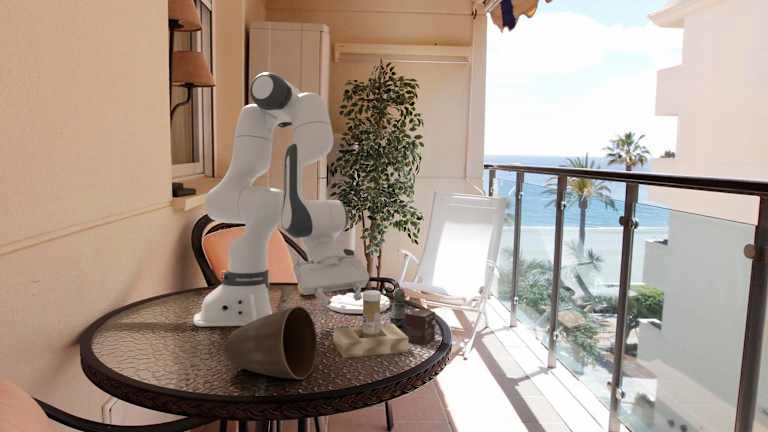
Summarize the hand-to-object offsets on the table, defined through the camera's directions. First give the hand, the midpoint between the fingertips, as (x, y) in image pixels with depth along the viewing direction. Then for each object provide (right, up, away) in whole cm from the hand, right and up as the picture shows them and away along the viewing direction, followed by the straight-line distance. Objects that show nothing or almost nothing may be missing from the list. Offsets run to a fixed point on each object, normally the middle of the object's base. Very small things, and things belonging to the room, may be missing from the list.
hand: (343, 302), depth 136 cm
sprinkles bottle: (+7, -10, -7) cm, 14 cm away
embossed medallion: (+3, -7, +32) cm, 33 cm away
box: (+20, -10, -2) cm, 22 cm away
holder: (+7, -10, -8) cm, 14 cm away
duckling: (-17, -6, +49) cm, 52 cm away
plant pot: (-22, -6, -23) cm, 33 cm away
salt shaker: (+15, -9, +8) cm, 19 cm away
